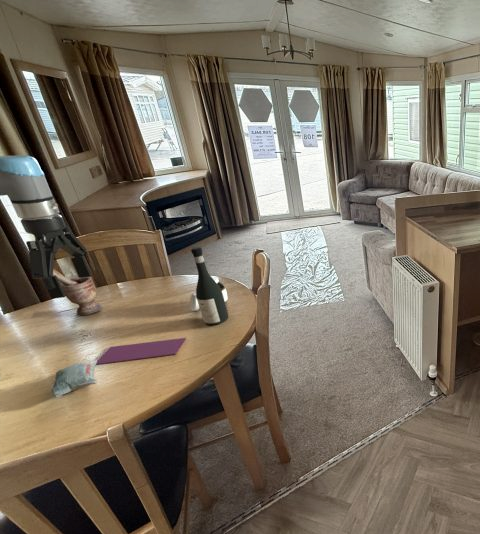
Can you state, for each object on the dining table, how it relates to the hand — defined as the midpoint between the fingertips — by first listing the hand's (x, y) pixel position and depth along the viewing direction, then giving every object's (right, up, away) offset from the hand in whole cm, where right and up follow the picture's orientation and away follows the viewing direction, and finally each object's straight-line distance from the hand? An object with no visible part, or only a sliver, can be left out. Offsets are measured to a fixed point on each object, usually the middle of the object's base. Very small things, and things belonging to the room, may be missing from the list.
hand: (73, 286), depth 99 cm
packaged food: (+3, -28, 0) cm, 29 cm away
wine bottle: (+23, -15, +30) cm, 41 cm away
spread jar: (+14, -11, +39) cm, 43 cm away
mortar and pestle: (-31, -12, +33) cm, 47 cm away
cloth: (+9, -22, +13) cm, 27 cm away
